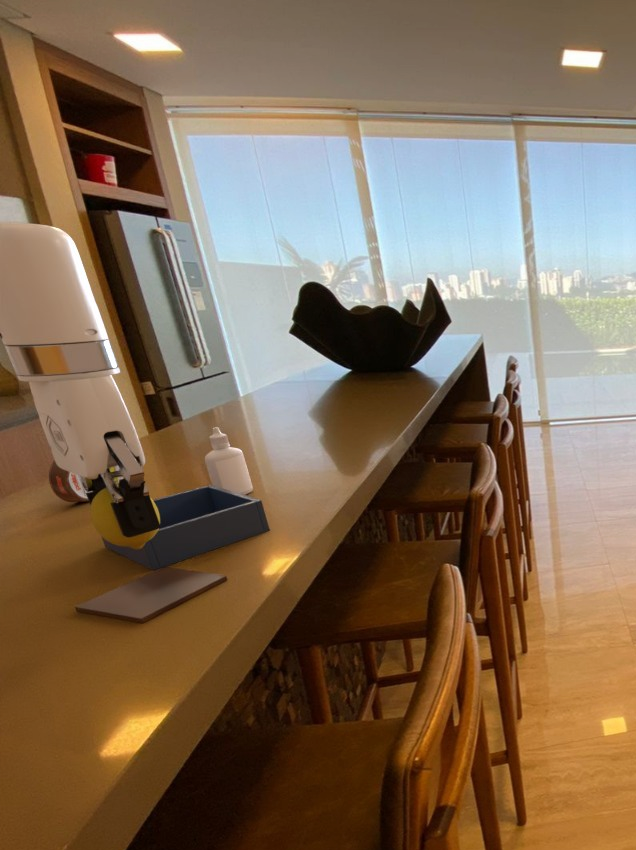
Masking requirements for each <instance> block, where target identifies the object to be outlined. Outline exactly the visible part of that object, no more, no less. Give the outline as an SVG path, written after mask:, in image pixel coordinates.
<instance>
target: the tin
mask: <svg viewBox="0 0 636 850" xmlns="http://www.w3.org/2000/svg"><path fill="white" fill-rule="evenodd" d="M48 470H49V471H48V481H49V482H48V483H49V485H50V488H51V491H53V494H55V495H56V497H57V498H59V499H60V500H62V501H64V502H68V503H76V502H81V503H82V502H83V503H85V502H89V500H88V498H87V495H86V493H89V492H87V491H86V490H85V489H84V487H83V485H82V481H81V477H80V475H77V474H74V473H71V472H69V471H66V470H64V469H61V468H60V467H59V466H58V465H57V464H56V462H55V460H54V459H53V461H52V462H51V464H50V467H49V469H48ZM115 470H116V471H119V470H121V469H120V467H119V466H115ZM121 479H124V478H123V477H119V478H118V483H119V480H121ZM90 492H93V491H90Z"/></svg>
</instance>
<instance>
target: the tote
mask: <svg viewBox="0 0 636 850" xmlns="http://www.w3.org/2000/svg"><path fill="white" fill-rule="evenodd" d="M152 500H153V501H154V503H155V505H156V506H157V509H158V511H159V515H160V528H159V530H158V532H157V533H156V535H155V536H154V537H153V538H152V539H150V540H149V541H147V542H146V543H145V545H144V546H143V547H142V548H141V549H133V548H131V547H128V546H118V545H115V544H112V543H110V542H108V541H107V540H105V539H104V538H103V537H102V536H101V535H100V538H101V540H102V541H103V545H104V547H105V548H107V549H109V551H110V550H111V551H112V552H115V553H117V554H119V555H121V556H123V557H125V558H127V559H129V560H131V561H133V562H135V563H137V564H139V565H141V566H143V567H145V568H147V569H148V570H151V571H157V570H159V569H161V568H163V567H169V566H170V565H173V564H176V563H179V562H183V561H185V560H188V559H191V558H194V557H196V556H197V557H198V556H199V555H202V554H205V553H208V552H211V551H214V550H217V549H220V548H222V547H225V546H228V545H232V544H234V543H236V542H237V543H238V542H240V541H244V540H245V539H249V538H251V537H255V536H258V535H260V534H263V533H266V532H269V531H271V530H270V526H269V522H268V519H267V516H266V512H265V508H264V504H263V501H262V499H258V498H255V497H253V496H249V495H247V494H246V495H242V494H239V493H236V492H232V491H229V490H226V489H223V488H219V487H216V486H213V485H212V484H208V485H204V486H201V487H197V488H193V489H190V490H185V491H181V492H178V493H174V494H170V495H167V496H162V497H158V498H155V499H152Z"/></svg>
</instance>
